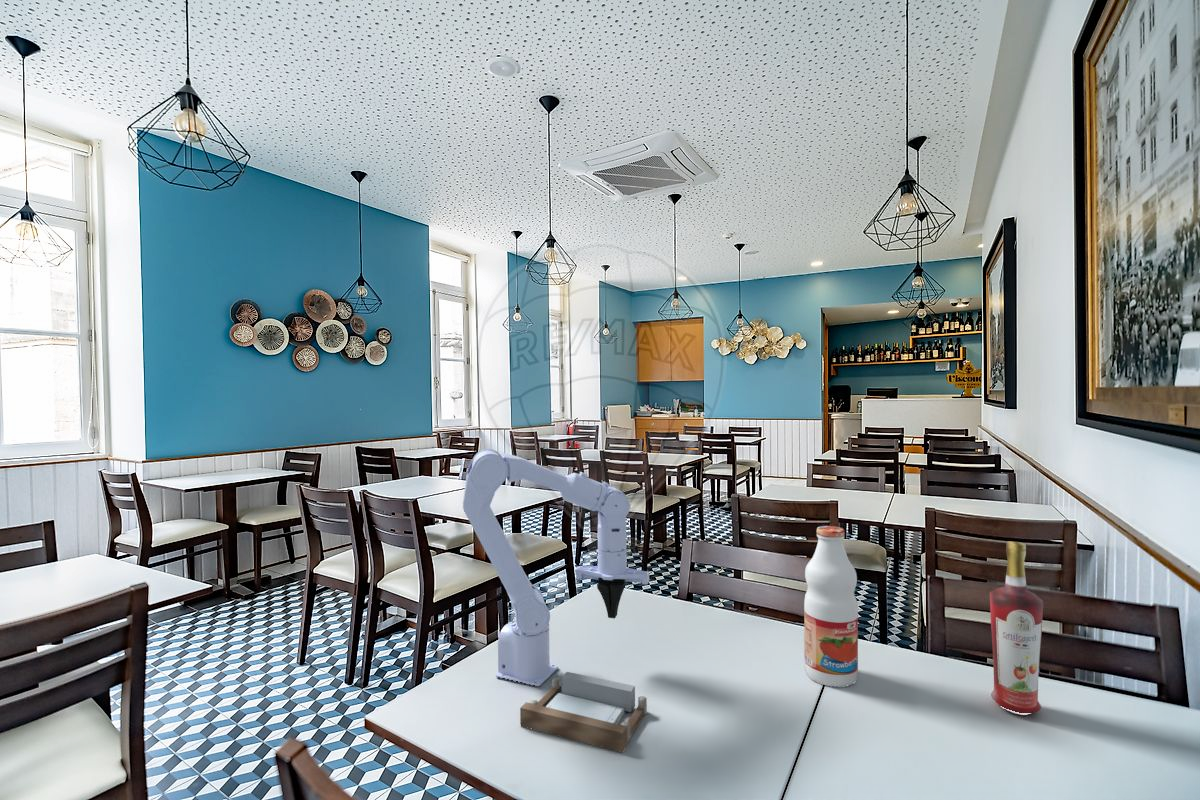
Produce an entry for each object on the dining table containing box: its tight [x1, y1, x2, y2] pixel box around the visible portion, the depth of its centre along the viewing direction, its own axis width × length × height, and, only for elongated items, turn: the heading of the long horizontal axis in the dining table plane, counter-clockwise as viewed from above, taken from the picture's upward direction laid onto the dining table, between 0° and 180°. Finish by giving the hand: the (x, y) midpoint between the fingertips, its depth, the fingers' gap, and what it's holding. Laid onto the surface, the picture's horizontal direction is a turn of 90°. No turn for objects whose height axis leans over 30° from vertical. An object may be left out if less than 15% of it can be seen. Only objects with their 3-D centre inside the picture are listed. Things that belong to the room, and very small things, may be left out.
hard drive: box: [546, 692, 625, 724], centre depth 95 cm, size 2×8×12 cm
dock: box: [519, 677, 648, 753], centre depth 95 cm, size 18×12×3 cm, turn 67°
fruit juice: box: [803, 525, 859, 688], centre depth 108 cm, size 9×9×28 cm
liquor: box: [989, 540, 1044, 714], centre depth 96 cm, size 7×7×28 cm
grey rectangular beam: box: [561, 671, 636, 713], centre depth 99 cm, size 13×2×4 cm, turn 67°
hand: (612, 616), depth 114 cm, fingers closed
